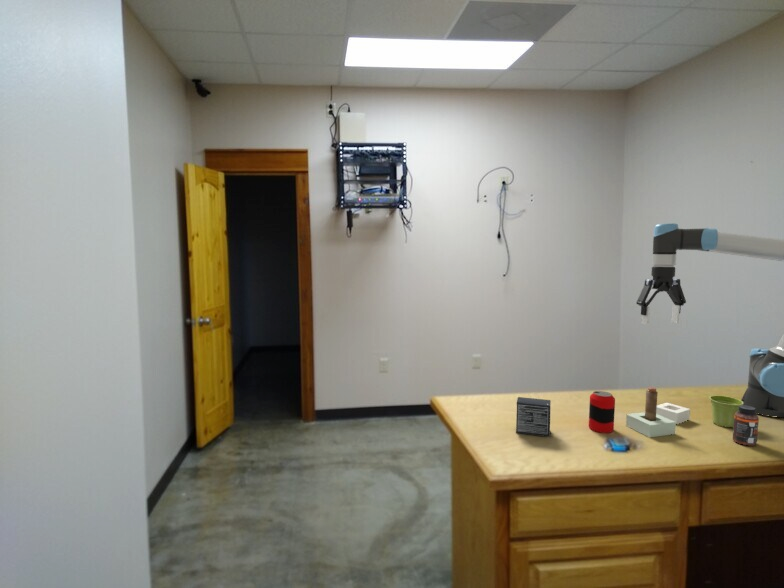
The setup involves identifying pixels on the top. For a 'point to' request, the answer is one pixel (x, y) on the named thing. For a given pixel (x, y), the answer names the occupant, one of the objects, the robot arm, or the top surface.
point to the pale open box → (650, 425)
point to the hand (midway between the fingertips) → (660, 323)
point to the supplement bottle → (745, 426)
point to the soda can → (601, 412)
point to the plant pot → (724, 409)
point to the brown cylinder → (651, 404)
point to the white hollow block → (673, 412)
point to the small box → (533, 416)
